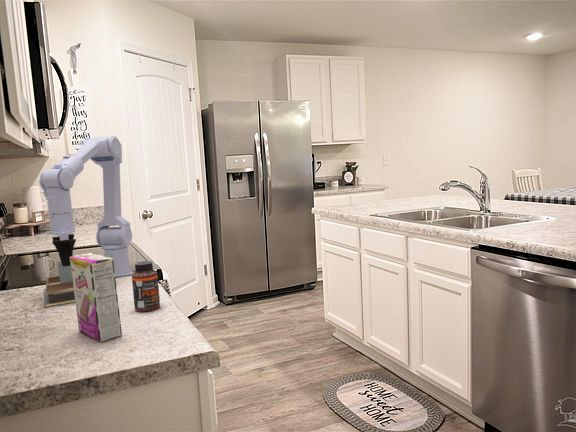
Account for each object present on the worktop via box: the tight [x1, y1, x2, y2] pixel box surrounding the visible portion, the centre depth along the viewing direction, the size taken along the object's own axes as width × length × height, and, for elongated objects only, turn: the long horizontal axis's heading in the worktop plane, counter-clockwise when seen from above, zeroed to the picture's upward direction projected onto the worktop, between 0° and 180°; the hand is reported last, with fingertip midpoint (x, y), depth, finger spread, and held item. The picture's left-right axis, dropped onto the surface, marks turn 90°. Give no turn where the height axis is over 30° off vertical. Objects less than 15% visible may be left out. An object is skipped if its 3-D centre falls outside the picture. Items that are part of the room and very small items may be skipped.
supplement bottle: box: [131, 260, 161, 313], centre depth 115 cm, size 6×6×11 cm
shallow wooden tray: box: [45, 275, 74, 302], centre depth 131 cm, size 11×11×5 cm
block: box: [57, 261, 73, 284], centre depth 131 cm, size 4×4×6 cm
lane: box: [43, 288, 76, 309], centre depth 135 cm, size 22×13×1 cm, turn 27°
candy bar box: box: [69, 252, 123, 343], centre depth 99 cm, size 11×5×16 cm, turn 44°
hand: (66, 263), depth 130 cm, fingers open, 7 cm apart
